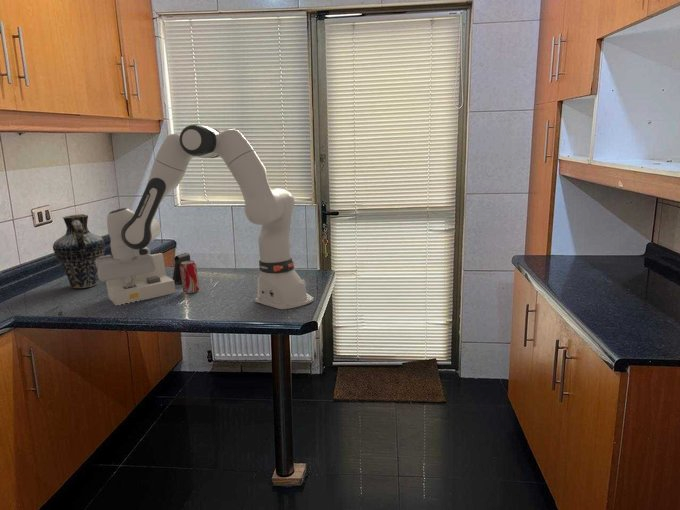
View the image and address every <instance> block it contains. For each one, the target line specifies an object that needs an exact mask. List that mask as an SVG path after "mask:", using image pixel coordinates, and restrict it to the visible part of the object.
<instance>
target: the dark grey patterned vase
mask: <svg viewBox="0 0 680 510" xmlns="http://www.w3.org/2000/svg"><path fill="white" fill-rule="evenodd" d="M62 218H63V221H64V224H65V225H66V231H65V234H64V235H63V236H61V237H60V238H57V239H56V241H54V243H53V244H52V250H53V252H54V255H55V257H56V260H57V261H58V263H59V265H60V266H61V267H62V269H63V271H64V273H65V275H66V277H67V279H68V282H69V285H70V288H72V289H85V288H90V287H93V286H96V285H98V283H99V281H100V280H99V279H98V268H97V267H96V264H95V260H96V259H97V258H99V256H105V252H106V242H105V240H104V238H103V237H101V236H100V235H97V234H95V233H92V232H90V230H89V228H88V220H89V215H88V214H85V213H84V214H81V213H79V214H71V215H65V216H62Z"/></svg>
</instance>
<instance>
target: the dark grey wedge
mask: <svg viewBox="0 0 680 510" xmlns="http://www.w3.org/2000/svg"><path fill="white" fill-rule="evenodd" d="M184 261H192V260H191V255H190V253H189V252H184V253H181V254H179V255H175V256H174V269H173V274H172V279H173V280H174V283H175V285H181V286H182V280H181V273H180V265H181V262H184ZM198 282H199V279H198Z"/></svg>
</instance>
